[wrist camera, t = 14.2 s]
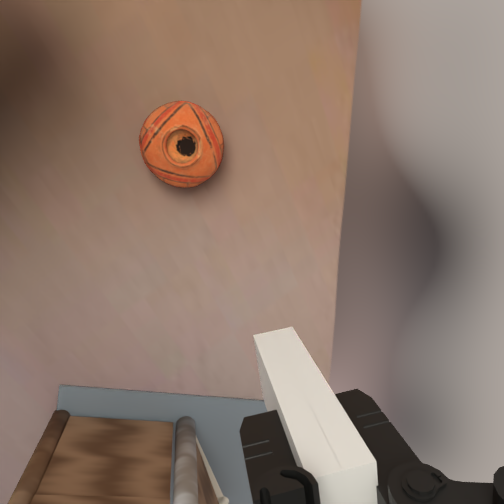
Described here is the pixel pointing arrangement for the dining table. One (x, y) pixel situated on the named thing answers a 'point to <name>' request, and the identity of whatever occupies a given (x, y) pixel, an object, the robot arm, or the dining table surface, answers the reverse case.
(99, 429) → the fixed fence
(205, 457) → the card
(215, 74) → the dining table surface
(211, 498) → the hinged fence panel
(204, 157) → the pot
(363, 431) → the robot arm
